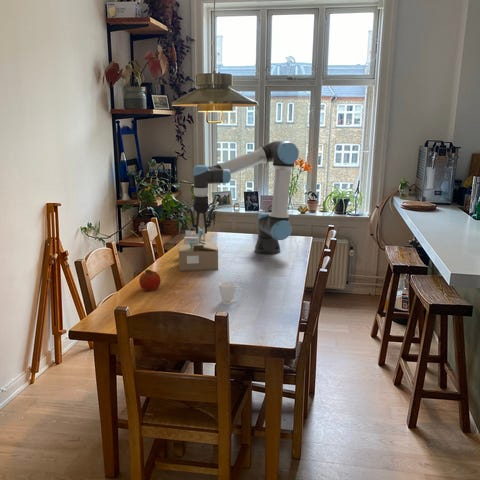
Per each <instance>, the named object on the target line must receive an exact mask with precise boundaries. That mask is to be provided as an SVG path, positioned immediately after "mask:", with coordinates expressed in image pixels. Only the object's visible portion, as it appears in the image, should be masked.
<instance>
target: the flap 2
mask: <svg viewBox="0 0 480 480" xmlns="http://www.w3.org/2000/svg"><path fill="white" fill-rule="evenodd" d="M202 237H203V228H200V238H199V242H198V243H200V245H203V248H205V249H210V250H215V251H218V252H219V249H218V245H217V243H215V242H211V241H206V239H205V240H203V239H202Z"/></svg>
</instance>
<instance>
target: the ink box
mask: <svg viewBox="0 0 480 480" xmlns="http://www.w3.org/2000/svg"><path fill="white" fill-rule="evenodd" d="M190 240H193V245H201V243H198V242H199V240H198V234H196V230H185V235H184V237H183V245H186V244H190Z"/></svg>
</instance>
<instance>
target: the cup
mask: <svg viewBox="0 0 480 480" xmlns="http://www.w3.org/2000/svg"><path fill="white" fill-rule="evenodd" d="M218 288H219V292H220V297H221V300H222V304H224V305H229V304H233V303H235V302H237V301H239V300H240V299H241V298H243V293H244V292H243V289H242V287H241V286H238V285H236V283H235V282H233V281H221V282H220V283H219V284H218ZM236 288H237V289H240V291H241V295H240V296H239V297H238V298H237V299H235V300H234V296H235V290H236Z"/></svg>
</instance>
